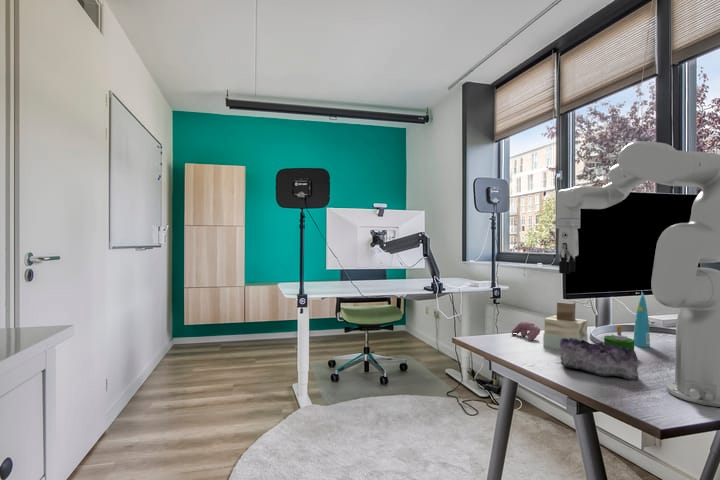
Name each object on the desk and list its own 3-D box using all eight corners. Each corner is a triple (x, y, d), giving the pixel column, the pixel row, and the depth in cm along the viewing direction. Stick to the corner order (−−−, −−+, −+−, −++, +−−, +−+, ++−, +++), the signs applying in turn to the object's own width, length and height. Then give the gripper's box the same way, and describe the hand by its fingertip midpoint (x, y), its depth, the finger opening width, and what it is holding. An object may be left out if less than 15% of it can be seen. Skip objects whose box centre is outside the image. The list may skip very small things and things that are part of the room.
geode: (639, 373, 112) (641, 340, 110) (637, 390, 103) (640, 355, 101) (561, 356, 124) (562, 326, 123) (553, 370, 115) (554, 338, 114)
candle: (603, 350, 134) (604, 321, 134) (632, 354, 129) (633, 324, 129) (604, 356, 127) (604, 325, 126) (635, 361, 122) (636, 329, 122)
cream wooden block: (577, 338, 130) (578, 324, 130) (544, 332, 139) (544, 318, 139) (586, 334, 137) (587, 320, 137) (554, 328, 145) (554, 315, 145)
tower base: (581, 354, 130) (581, 339, 130) (543, 347, 138) (543, 333, 138) (587, 347, 138) (587, 333, 137) (550, 341, 145) (551, 328, 145)
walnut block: (572, 321, 134) (572, 304, 134) (556, 319, 138) (557, 302, 137) (575, 319, 138) (575, 302, 138) (559, 317, 141) (560, 300, 141)
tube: (632, 342, 144) (633, 290, 144) (648, 344, 142) (649, 291, 141) (634, 347, 138) (635, 293, 137) (651, 349, 135) (652, 294, 135)
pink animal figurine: (537, 344, 145) (544, 327, 146) (529, 340, 143) (536, 322, 144) (517, 338, 154) (523, 321, 155) (509, 333, 152) (516, 317, 153)
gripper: (575, 223, 128) (574, 275, 128) (584, 224, 142) (583, 271, 142) (550, 223, 133) (549, 273, 133) (561, 225, 146) (561, 270, 147)
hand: (567, 272), depth 138 cm, fingers open, 9 cm apart
